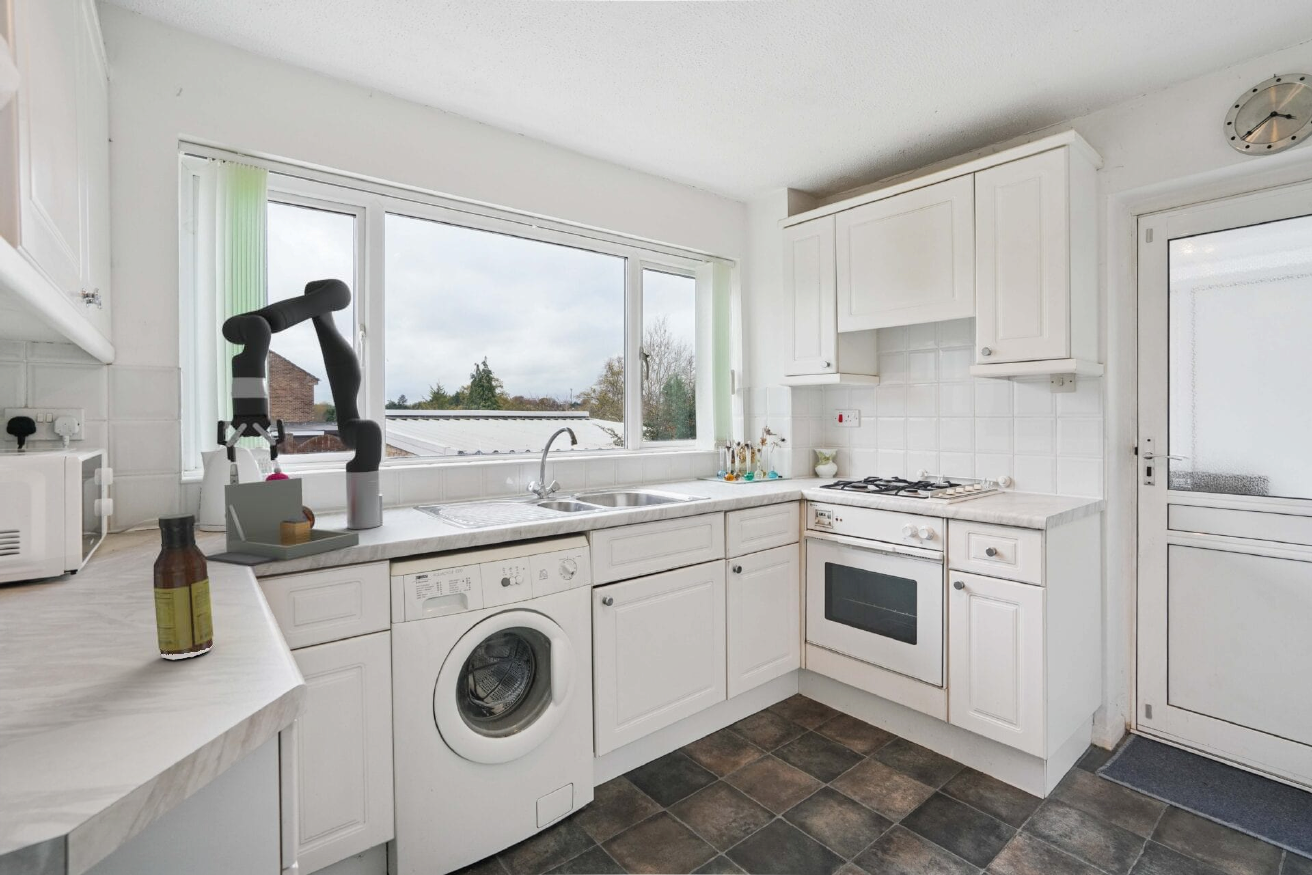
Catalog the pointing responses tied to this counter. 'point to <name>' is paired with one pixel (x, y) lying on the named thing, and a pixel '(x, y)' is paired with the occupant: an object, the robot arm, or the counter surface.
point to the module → (294, 532)
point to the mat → (240, 558)
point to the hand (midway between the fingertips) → (253, 461)
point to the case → (273, 520)
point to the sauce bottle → (181, 589)
